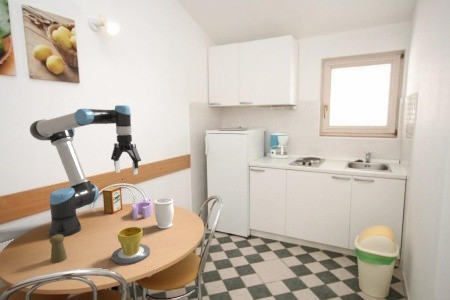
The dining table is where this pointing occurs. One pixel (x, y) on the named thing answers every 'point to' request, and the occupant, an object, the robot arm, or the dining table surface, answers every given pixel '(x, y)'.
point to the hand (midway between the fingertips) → (126, 173)
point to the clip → (143, 208)
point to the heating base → (130, 259)
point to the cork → (57, 249)
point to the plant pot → (130, 239)
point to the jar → (164, 212)
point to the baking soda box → (112, 200)
